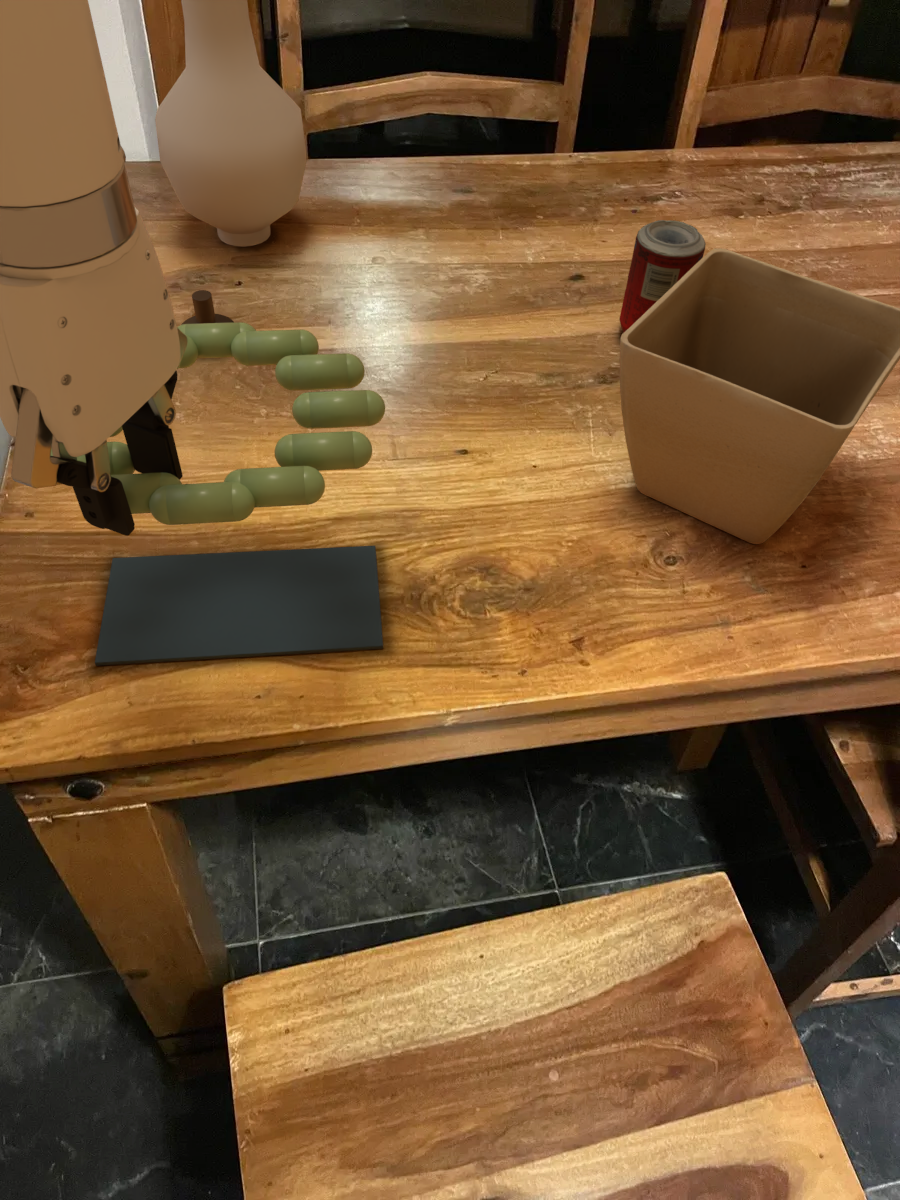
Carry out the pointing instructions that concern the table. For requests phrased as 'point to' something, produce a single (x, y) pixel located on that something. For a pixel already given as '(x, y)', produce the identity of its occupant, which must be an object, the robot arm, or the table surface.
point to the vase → (230, 128)
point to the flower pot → (748, 388)
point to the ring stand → (205, 310)
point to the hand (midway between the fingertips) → (134, 497)
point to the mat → (240, 605)
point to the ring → (292, 451)
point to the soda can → (658, 265)
